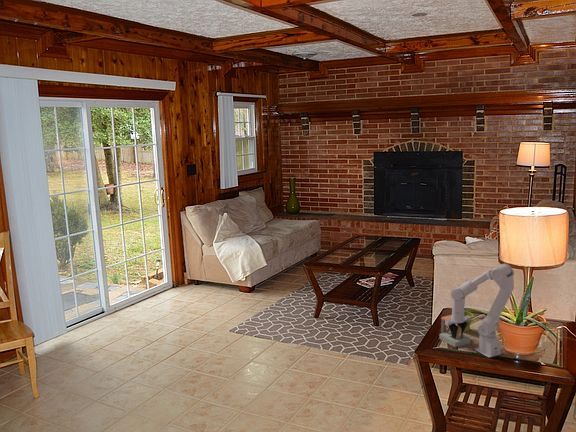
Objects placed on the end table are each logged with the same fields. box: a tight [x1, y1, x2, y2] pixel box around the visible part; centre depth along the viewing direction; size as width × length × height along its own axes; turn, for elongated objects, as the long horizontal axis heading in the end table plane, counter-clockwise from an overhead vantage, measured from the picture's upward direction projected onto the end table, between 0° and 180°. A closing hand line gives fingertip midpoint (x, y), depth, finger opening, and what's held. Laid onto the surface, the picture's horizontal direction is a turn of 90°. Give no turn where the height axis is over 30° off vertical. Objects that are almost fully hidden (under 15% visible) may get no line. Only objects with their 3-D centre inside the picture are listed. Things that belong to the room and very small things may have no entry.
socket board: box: [438, 331, 472, 348], centre depth 259 cm, size 11×10×2 cm
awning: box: [440, 314, 452, 334], centre depth 264 cm, size 4×7×10 cm, turn 115°
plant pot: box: [456, 310, 474, 333], centre depth 271 cm, size 9×9×9 cm
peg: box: [453, 326, 461, 340], centre depth 257 cm, size 4×4×7 cm
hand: (457, 336), depth 257 cm, fingers closed on peg, 3 cm apart
